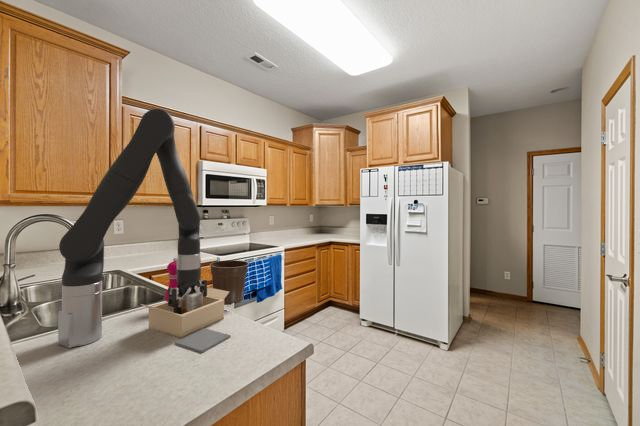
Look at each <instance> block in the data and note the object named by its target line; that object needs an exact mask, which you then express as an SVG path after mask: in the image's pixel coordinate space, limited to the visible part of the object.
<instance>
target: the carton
mask: <svg viewBox="0 0 640 426" xmlns="http://www.w3.org/2000/svg"><path fill="white" fill-rule="evenodd" d="M198 289H199V290H200V287H199V288H198ZM203 293H204V291H203ZM228 293H229V291H224V290H219V289H213V287H208V286H207V296H206V297H203V307H200V308H197V309H195V310H192V311H190V312H187V313H184V314H182V315H180V314H177V313H173V312H174V307H171V306H168V302H166V301H165V302H162V303H159V304H156V305H150V306H149V305H146V304H143V303H140V306H143V307H145V308H148V329H149V330H152V331H153V332H158V333H161V334H164V335H167V336H169V337H174V338H176V339H178V340H180V339H183V338H185V337H187V336H189V335H191V334H193V333H195V332H198V331H200V330H202V329H204V328H206V327H209V326H211V325H212V324H215V322H216V323H218V322H219V321H222V320H224V319H225V315H224V314H225V305H224V299H225V297H226V296H227V295H228Z"/></svg>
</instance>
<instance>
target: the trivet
mask: <svg viewBox="0 0 640 426" xmlns="http://www.w3.org/2000/svg"><path fill="white" fill-rule="evenodd" d="M230 338H231V334H227V333H223V332H221V331H217V330H213V329H209V328H206V327H205V328H203V329H200V330H198V331H196V332H194V333H192V334H190V335H188V336H185V337H183V338H181V339H178V340H176V341H175V342H174V345H177V346H180V347H182V348H185V349H189V350H193V351H195V352H198V353H201V354H203V353H205V352H207V351H209V350H210V349H212V348H214V347H215V346H218V345H220V344H221V343H223V342H225V341H226V340H228V339H230Z"/></svg>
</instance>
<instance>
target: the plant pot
mask: <svg viewBox="0 0 640 426" xmlns="http://www.w3.org/2000/svg"><path fill="white" fill-rule="evenodd" d="M208 265H209V267H210V274H211V279H212V288H213V289H219V290H224V291H229V293H228V295H227V296H226V297H225V299H224V306H232V304H234V305H235V304H236V305H237V304H239V303H242V302H243V300H244V295H245V294H244V293H245V286H246V278H247V273H248V267H249V265H250V263H249V262H248V261H246V260H245V261H243V260H236V259H235V260H234V259H232V260H231V259H229V260H227V259H226V260H217V261H212V262H211V263H209V264H208Z"/></svg>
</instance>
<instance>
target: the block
mask: <svg viewBox="0 0 640 426" xmlns="http://www.w3.org/2000/svg"><path fill="white" fill-rule="evenodd" d="M180 297H183V296H181V295H180ZM179 301H180V300H179ZM178 303H179V302H178ZM200 307H203V293H200V292H194V293H191V294H188V295H186V299H185V301H183V303H182V305H181V315H182V314H184V313H187V312H190V311H192V310H195V309H197V308H200ZM173 313H174V312H173Z"/></svg>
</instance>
